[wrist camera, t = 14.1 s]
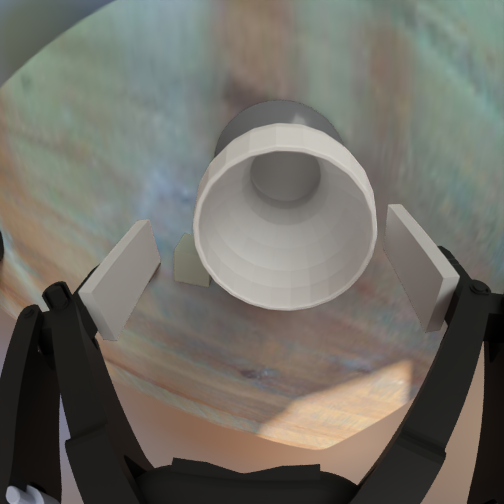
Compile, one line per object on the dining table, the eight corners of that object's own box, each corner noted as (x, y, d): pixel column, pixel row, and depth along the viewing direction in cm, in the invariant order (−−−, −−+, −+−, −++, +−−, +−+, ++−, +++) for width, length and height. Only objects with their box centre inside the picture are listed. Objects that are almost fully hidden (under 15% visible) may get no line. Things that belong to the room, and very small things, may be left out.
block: (183, 261, 36) (173, 280, 32) (185, 232, 34) (174, 250, 30) (215, 267, 36) (208, 287, 32) (218, 238, 34) (211, 257, 30)
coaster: (225, 226, 32) (224, 229, 32) (207, 107, 26) (205, 108, 25) (344, 220, 31) (345, 224, 30) (343, 98, 24) (344, 98, 23)
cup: (336, 108, 24) (391, 129, 11) (341, 212, 29) (376, 312, 17) (223, 118, 26) (161, 149, 13) (239, 219, 31) (205, 320, 18)
